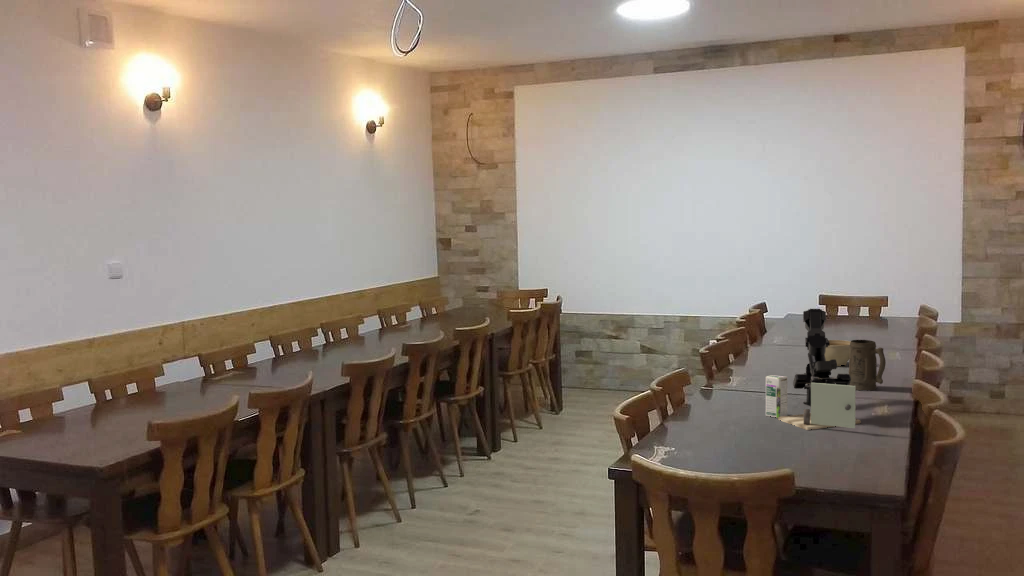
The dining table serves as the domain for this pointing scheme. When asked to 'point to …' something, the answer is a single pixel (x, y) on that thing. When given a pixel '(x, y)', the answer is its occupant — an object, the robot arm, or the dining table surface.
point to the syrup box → (776, 396)
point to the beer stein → (865, 364)
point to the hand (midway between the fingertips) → (826, 401)
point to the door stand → (805, 421)
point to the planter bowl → (838, 351)
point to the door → (833, 405)
